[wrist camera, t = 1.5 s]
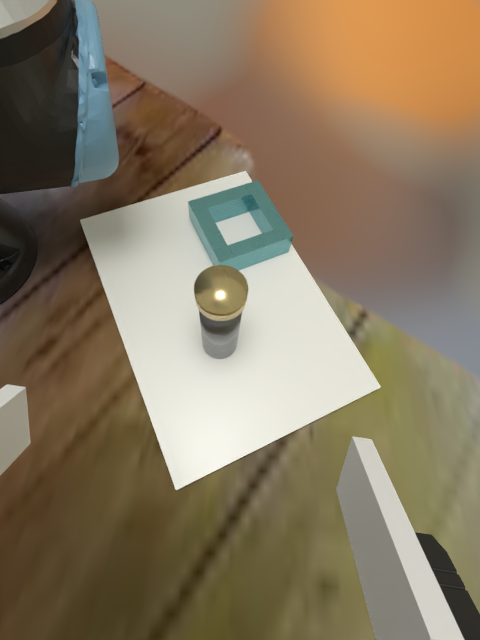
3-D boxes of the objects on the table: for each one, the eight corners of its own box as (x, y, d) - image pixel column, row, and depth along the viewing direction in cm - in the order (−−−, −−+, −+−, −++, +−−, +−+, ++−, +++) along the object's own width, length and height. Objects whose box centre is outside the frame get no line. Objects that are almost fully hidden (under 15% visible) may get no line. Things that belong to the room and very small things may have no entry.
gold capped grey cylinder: (194, 333, 36) (185, 275, 25) (229, 319, 37) (234, 258, 26) (209, 367, 35) (206, 320, 24) (245, 351, 35) (257, 300, 25)
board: (82, 225, 42) (79, 219, 41) (244, 176, 47) (245, 170, 46) (177, 490, 31) (175, 490, 30) (376, 389, 36) (381, 387, 35)
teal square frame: (189, 219, 42) (187, 201, 39) (255, 198, 44) (257, 180, 41) (219, 277, 39) (219, 262, 36) (288, 252, 41) (293, 236, 38)
